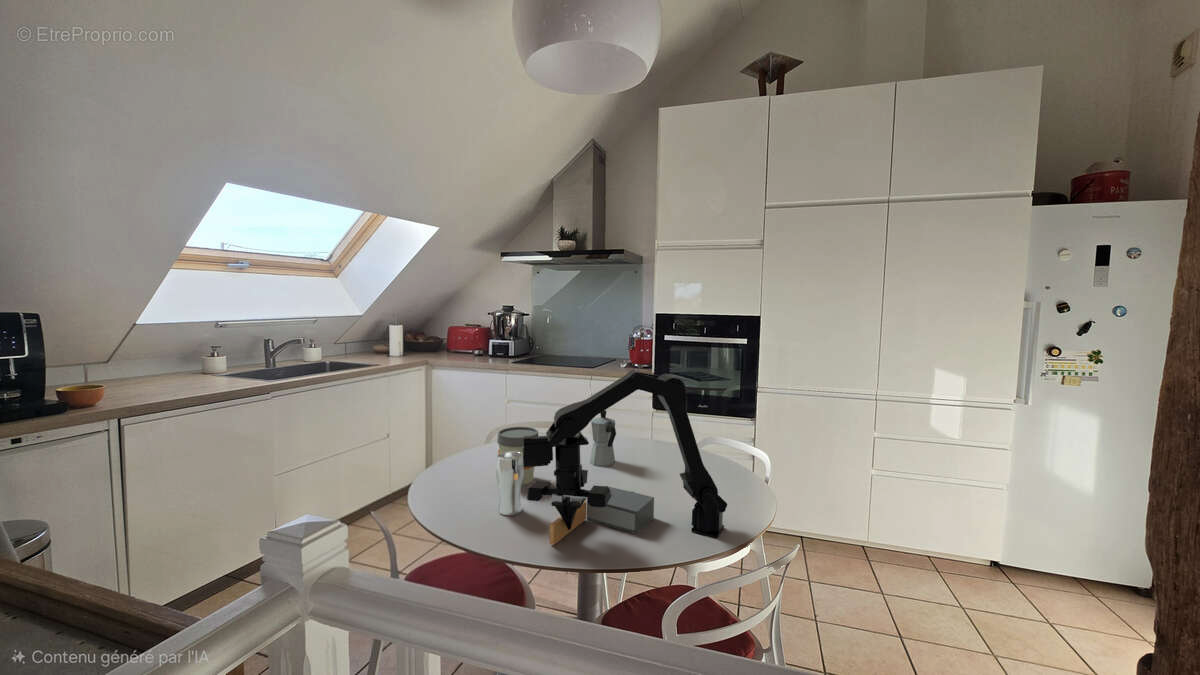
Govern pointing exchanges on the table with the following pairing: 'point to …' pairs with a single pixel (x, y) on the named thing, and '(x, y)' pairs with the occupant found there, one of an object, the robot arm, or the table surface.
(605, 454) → the coffee maker
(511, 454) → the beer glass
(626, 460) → the table surface
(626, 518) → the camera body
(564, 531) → the side door
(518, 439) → the reusable coffee cup
